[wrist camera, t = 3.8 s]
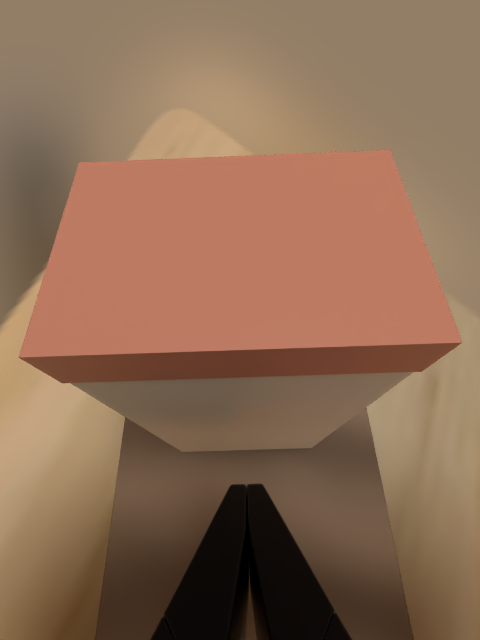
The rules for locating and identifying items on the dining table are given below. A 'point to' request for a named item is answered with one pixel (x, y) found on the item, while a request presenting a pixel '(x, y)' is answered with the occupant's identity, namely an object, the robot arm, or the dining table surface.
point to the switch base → (293, 505)
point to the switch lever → (239, 295)
